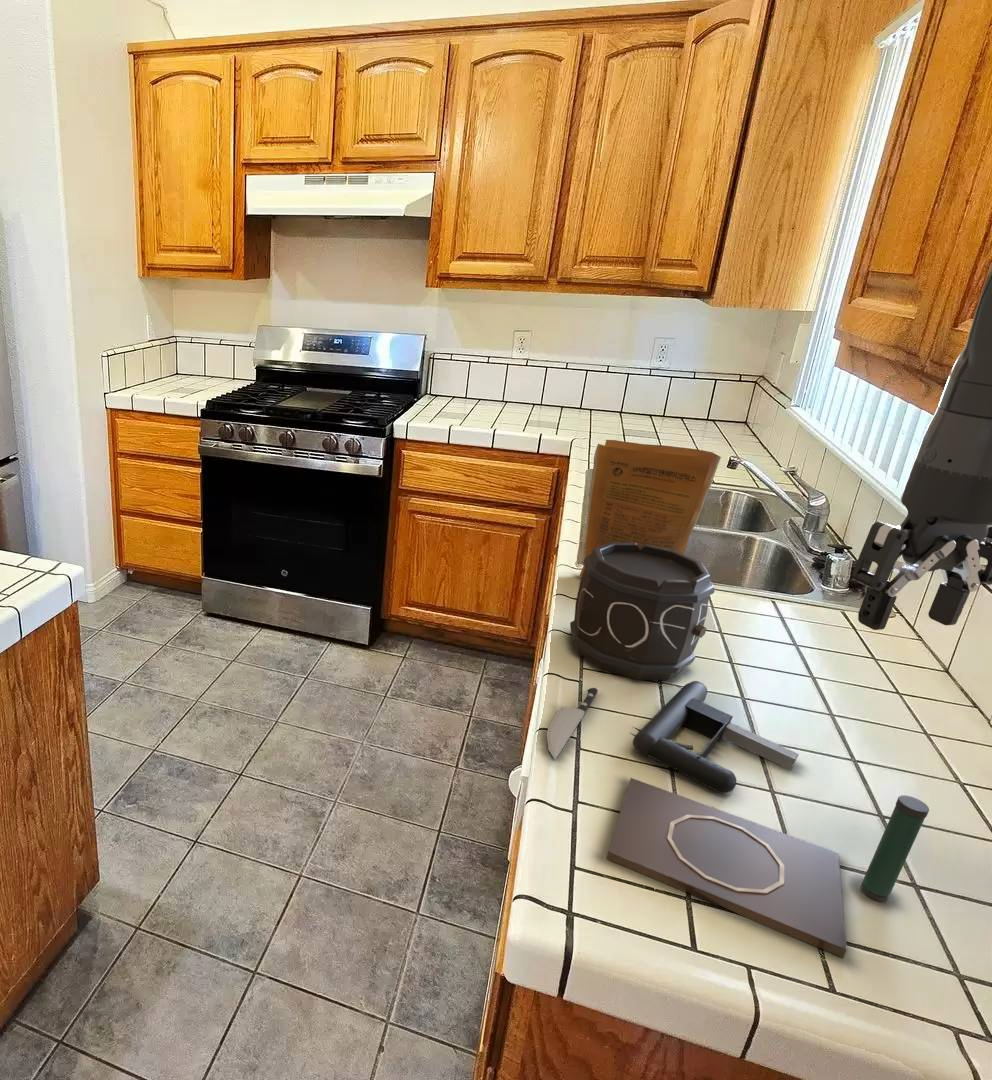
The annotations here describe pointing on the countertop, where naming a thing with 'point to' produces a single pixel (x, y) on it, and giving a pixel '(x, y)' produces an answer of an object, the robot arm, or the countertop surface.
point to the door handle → (709, 723)
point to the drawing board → (732, 864)
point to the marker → (894, 847)
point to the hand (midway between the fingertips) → (905, 624)
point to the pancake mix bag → (646, 494)
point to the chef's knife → (567, 723)
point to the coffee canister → (640, 610)
